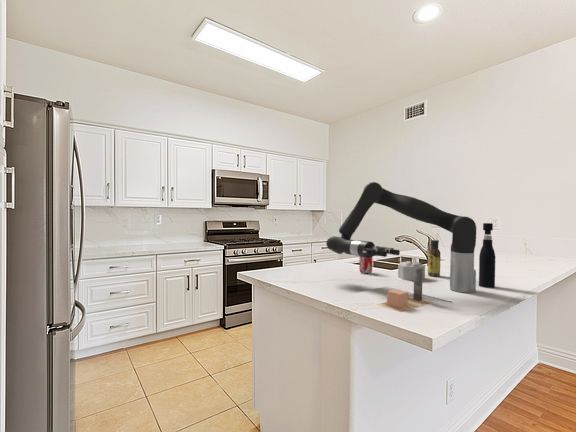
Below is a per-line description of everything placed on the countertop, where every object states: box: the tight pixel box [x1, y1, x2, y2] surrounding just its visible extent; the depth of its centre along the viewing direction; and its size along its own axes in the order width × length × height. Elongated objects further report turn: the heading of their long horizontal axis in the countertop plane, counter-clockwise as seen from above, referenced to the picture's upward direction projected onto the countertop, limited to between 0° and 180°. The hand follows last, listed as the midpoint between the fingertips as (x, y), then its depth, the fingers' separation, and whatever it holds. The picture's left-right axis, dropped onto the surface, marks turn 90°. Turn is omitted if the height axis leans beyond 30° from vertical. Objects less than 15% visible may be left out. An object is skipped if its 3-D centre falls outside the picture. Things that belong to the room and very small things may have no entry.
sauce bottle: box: [427, 239, 442, 278], centre depth 167 cm, size 6×6×20 cm
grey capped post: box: [377, 268, 433, 313], centre depth 112 cm, size 20×10×13 cm, turn 126°
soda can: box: [358, 257, 373, 274], centre depth 174 cm, size 7×7×12 cm
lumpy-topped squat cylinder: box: [397, 260, 426, 282], centre depth 161 cm, size 10×13×9 cm
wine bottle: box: [478, 222, 496, 289], centre depth 145 cm, size 6×6×30 cm
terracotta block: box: [386, 288, 409, 309], centre depth 109 cm, size 5×5×5 cm
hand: (392, 253), depth 126 cm, fingers open, 8 cm apart
